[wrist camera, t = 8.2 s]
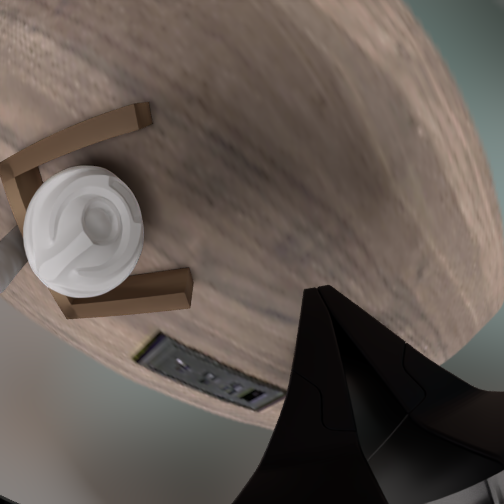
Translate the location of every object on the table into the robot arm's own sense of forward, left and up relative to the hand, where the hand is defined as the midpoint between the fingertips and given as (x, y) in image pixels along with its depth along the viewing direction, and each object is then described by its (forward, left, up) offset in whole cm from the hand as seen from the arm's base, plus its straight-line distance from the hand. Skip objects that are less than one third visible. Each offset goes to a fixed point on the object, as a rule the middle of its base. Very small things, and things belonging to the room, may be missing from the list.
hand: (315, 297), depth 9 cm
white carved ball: (0, +12, -12) cm, 17 cm away
